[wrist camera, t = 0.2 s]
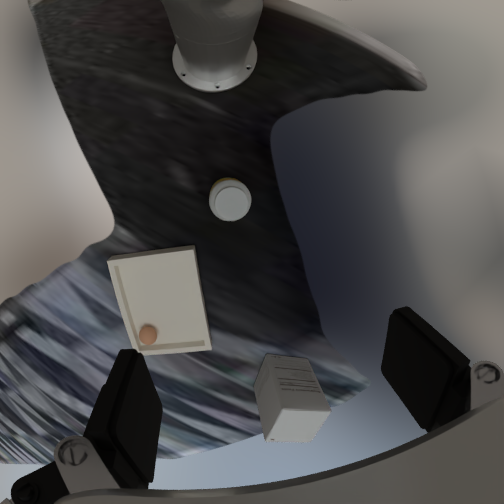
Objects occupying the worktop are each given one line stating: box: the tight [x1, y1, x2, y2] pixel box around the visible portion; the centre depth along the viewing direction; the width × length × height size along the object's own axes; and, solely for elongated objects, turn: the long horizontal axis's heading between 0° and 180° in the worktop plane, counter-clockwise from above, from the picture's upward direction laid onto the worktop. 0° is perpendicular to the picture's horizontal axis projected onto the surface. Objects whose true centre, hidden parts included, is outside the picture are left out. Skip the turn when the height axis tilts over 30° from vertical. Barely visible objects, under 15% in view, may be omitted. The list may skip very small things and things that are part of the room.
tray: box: [107, 245, 212, 355], centre depth 46 cm, size 18×14×2 cm
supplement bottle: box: [209, 178, 251, 221], centre depth 38 cm, size 5×5×10 cm
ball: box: [139, 327, 157, 345], centre depth 46 cm, size 3×3×3 cm
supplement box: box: [254, 354, 331, 442], centre depth 47 cm, size 9×9×15 cm
